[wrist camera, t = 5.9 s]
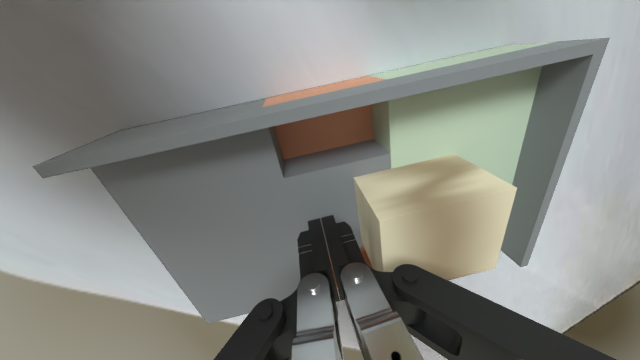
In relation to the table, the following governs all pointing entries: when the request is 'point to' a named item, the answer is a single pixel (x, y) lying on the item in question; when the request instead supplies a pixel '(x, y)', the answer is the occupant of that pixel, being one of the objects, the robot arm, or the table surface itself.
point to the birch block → (434, 216)
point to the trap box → (335, 161)
